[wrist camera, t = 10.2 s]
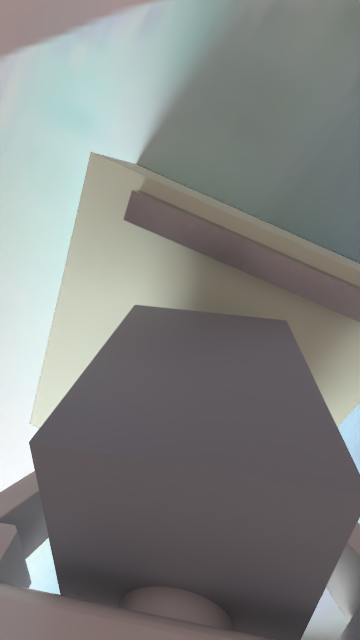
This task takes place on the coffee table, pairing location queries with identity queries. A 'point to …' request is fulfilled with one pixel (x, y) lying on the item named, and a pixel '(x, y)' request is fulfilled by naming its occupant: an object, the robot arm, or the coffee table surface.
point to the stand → (195, 279)
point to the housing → (198, 475)
